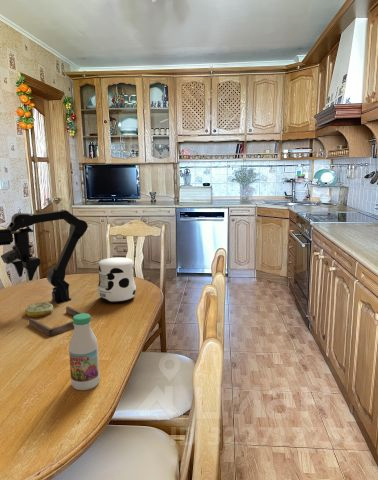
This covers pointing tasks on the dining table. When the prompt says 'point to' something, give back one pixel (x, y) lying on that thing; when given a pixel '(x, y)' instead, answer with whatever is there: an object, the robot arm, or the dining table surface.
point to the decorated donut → (39, 309)
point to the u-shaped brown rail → (59, 328)
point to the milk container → (116, 280)
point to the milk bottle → (83, 354)
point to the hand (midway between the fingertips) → (25, 278)
